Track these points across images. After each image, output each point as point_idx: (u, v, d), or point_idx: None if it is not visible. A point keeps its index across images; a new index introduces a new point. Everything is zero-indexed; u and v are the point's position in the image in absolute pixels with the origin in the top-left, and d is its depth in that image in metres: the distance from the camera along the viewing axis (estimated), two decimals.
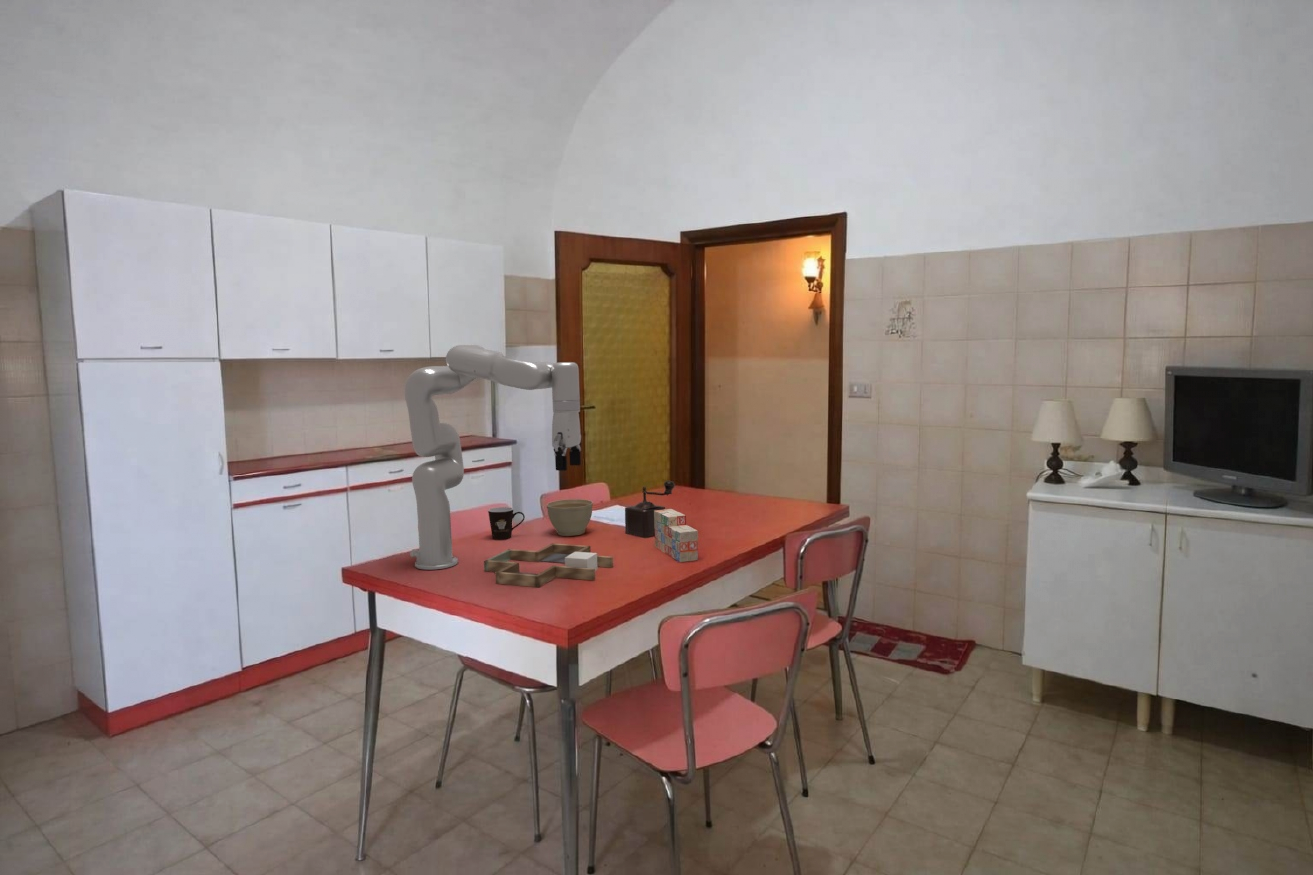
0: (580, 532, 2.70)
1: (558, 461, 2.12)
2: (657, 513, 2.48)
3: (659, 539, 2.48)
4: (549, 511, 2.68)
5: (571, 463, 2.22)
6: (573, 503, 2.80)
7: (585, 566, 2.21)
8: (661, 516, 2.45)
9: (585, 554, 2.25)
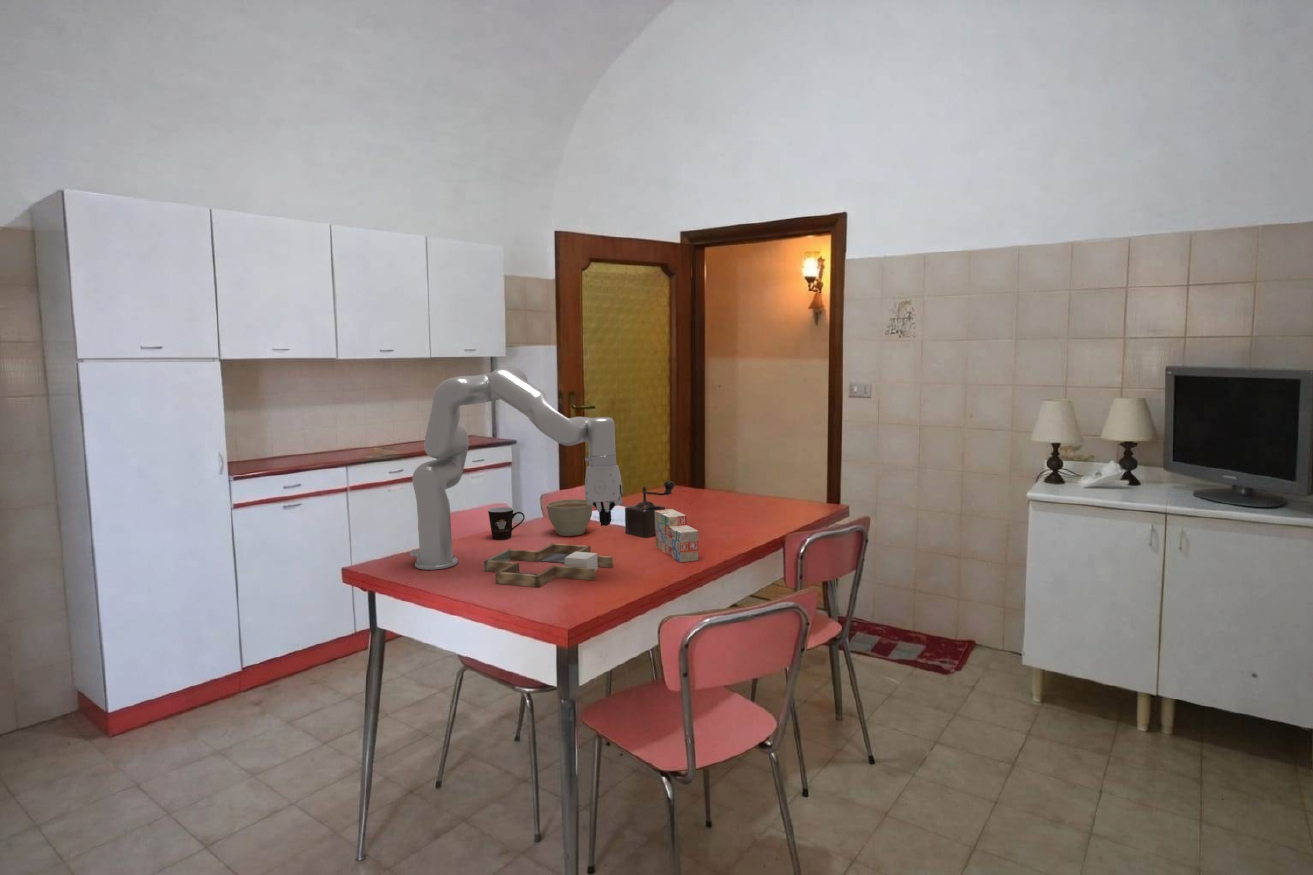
0: (580, 532, 2.70)
1: (609, 516, 2.20)
2: (658, 513, 2.48)
3: (660, 539, 2.48)
4: (549, 511, 2.68)
5: None
6: (573, 503, 2.80)
7: (584, 566, 2.20)
8: (662, 516, 2.45)
9: (585, 554, 2.25)
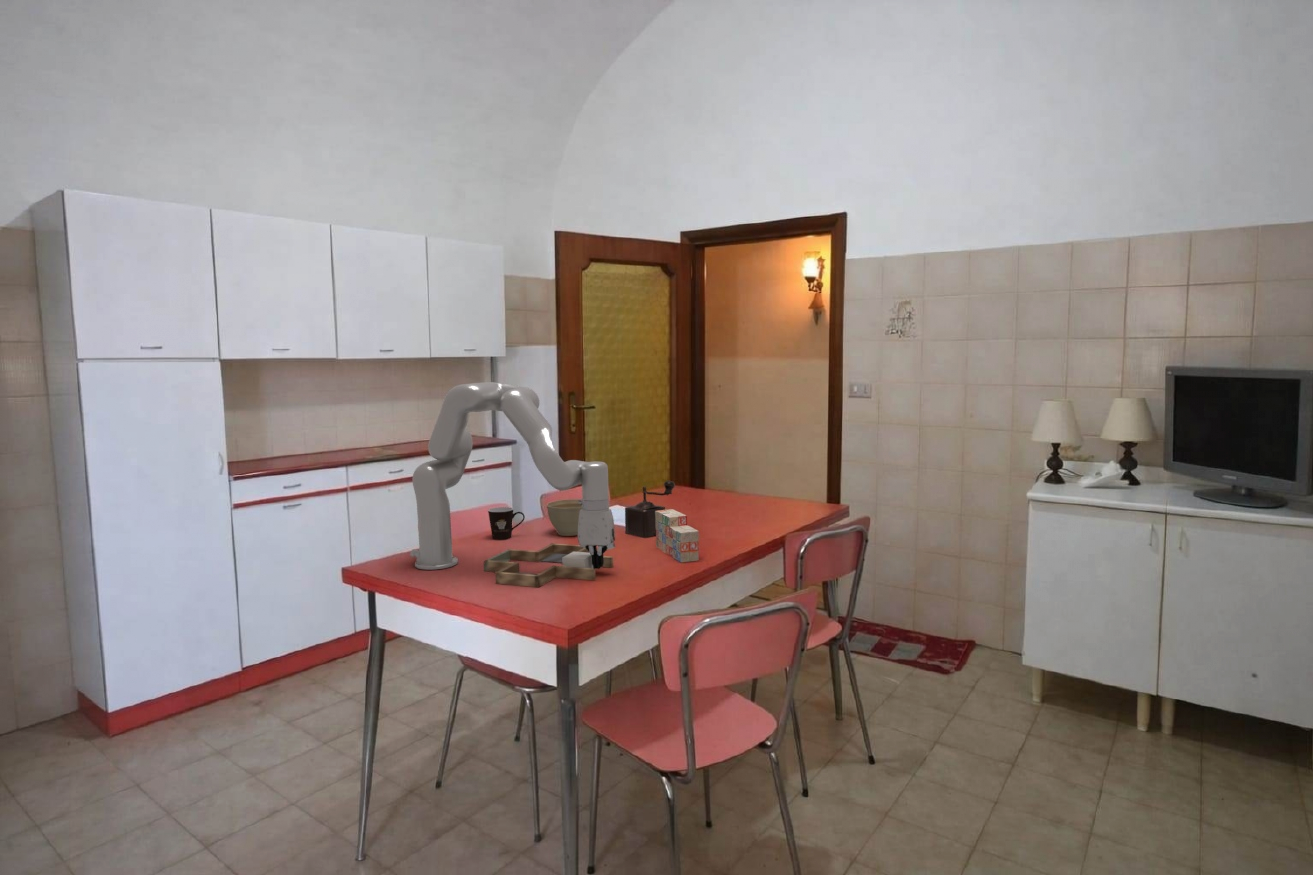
0: None
1: (601, 559, 2.22)
2: (658, 513, 2.48)
3: (660, 539, 2.47)
4: (549, 511, 2.68)
5: None
6: (573, 503, 2.80)
7: (582, 566, 2.21)
8: (662, 516, 2.45)
9: (583, 554, 2.25)
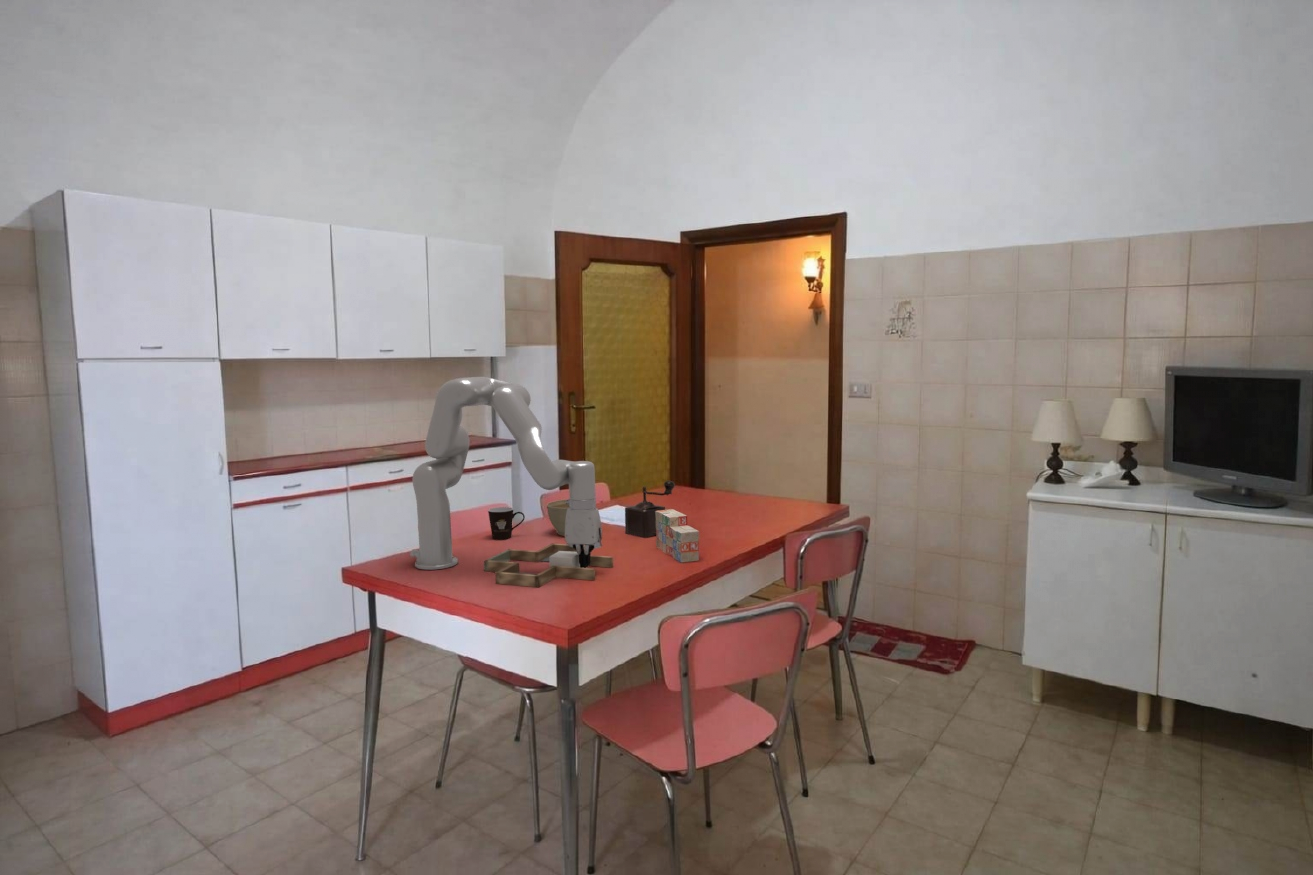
0: None
1: (588, 558, 2.23)
2: (658, 513, 2.48)
3: (660, 539, 2.47)
4: (549, 511, 2.68)
5: None
6: None
7: (569, 565, 2.22)
8: (662, 516, 2.45)
9: (569, 553, 2.27)
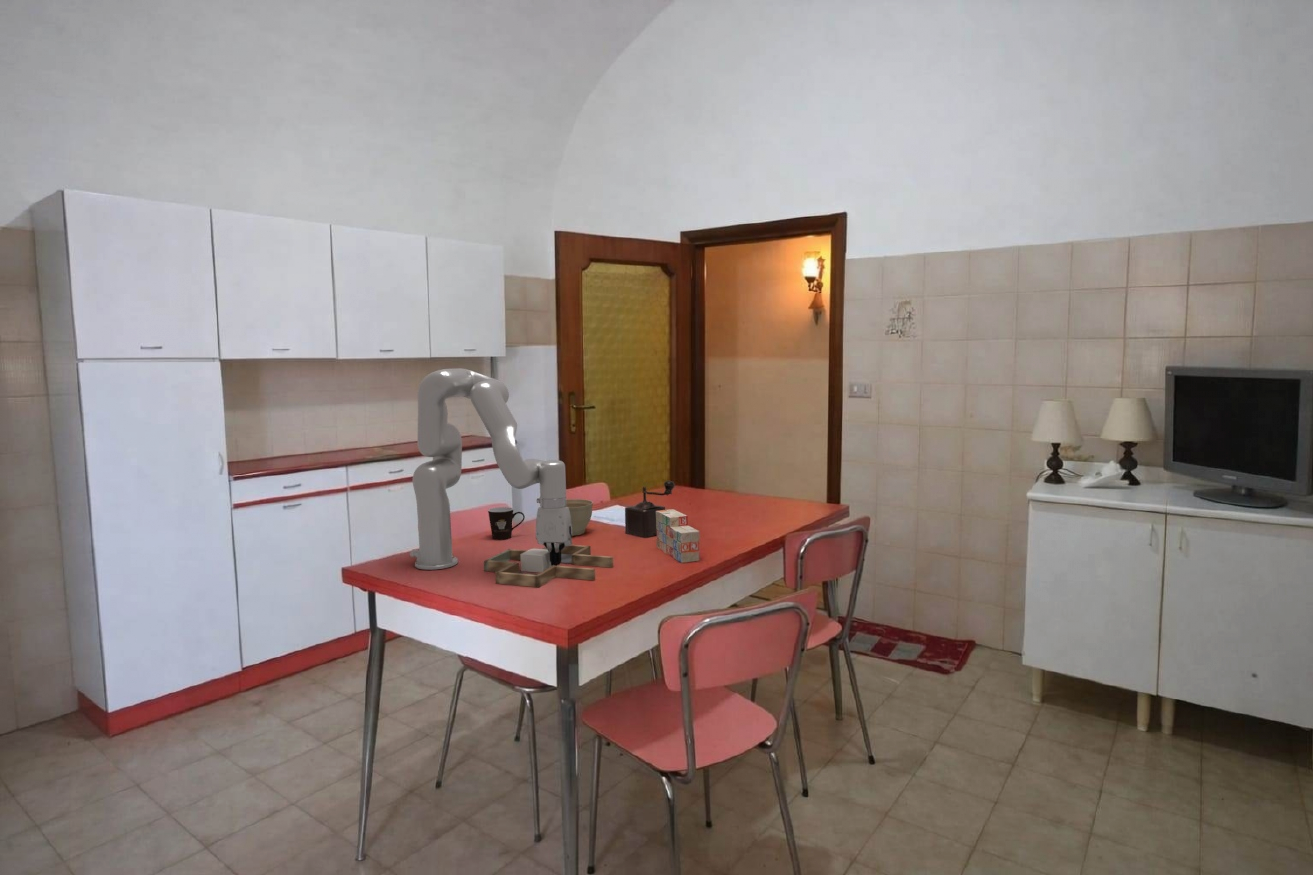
0: (580, 532, 2.70)
1: (559, 556, 2.27)
2: (659, 513, 2.48)
3: (661, 539, 2.47)
4: None
5: None
6: (573, 503, 2.80)
7: (540, 562, 2.25)
8: (663, 516, 2.45)
9: (541, 551, 2.30)
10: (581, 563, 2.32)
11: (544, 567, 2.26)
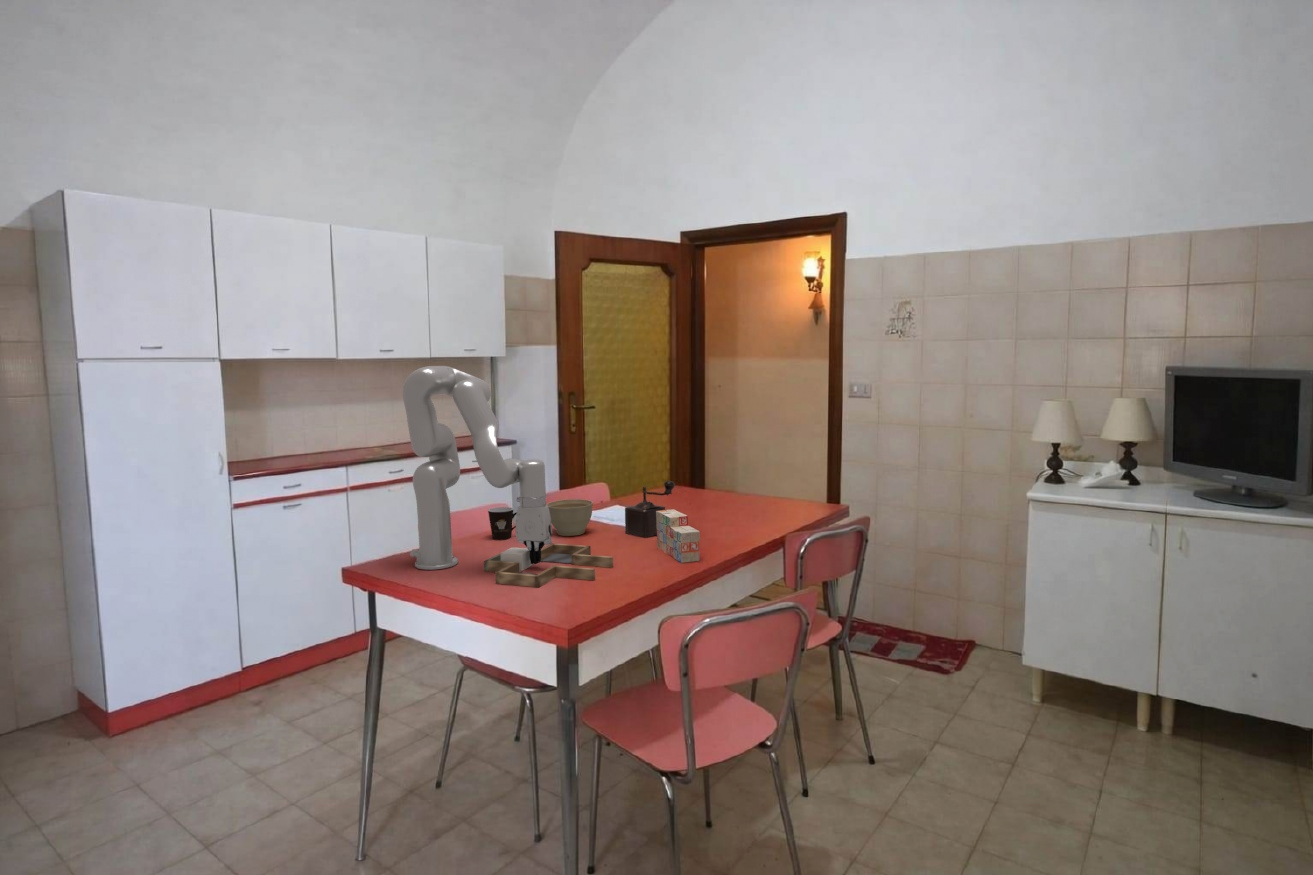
0: (580, 532, 2.70)
1: (539, 554, 2.29)
2: (659, 513, 2.48)
3: (661, 540, 2.47)
4: (549, 511, 2.68)
5: None
6: (573, 503, 2.80)
7: (520, 561, 2.27)
8: (663, 516, 2.44)
9: (521, 549, 2.32)
10: (581, 563, 2.32)
11: (523, 565, 2.28)
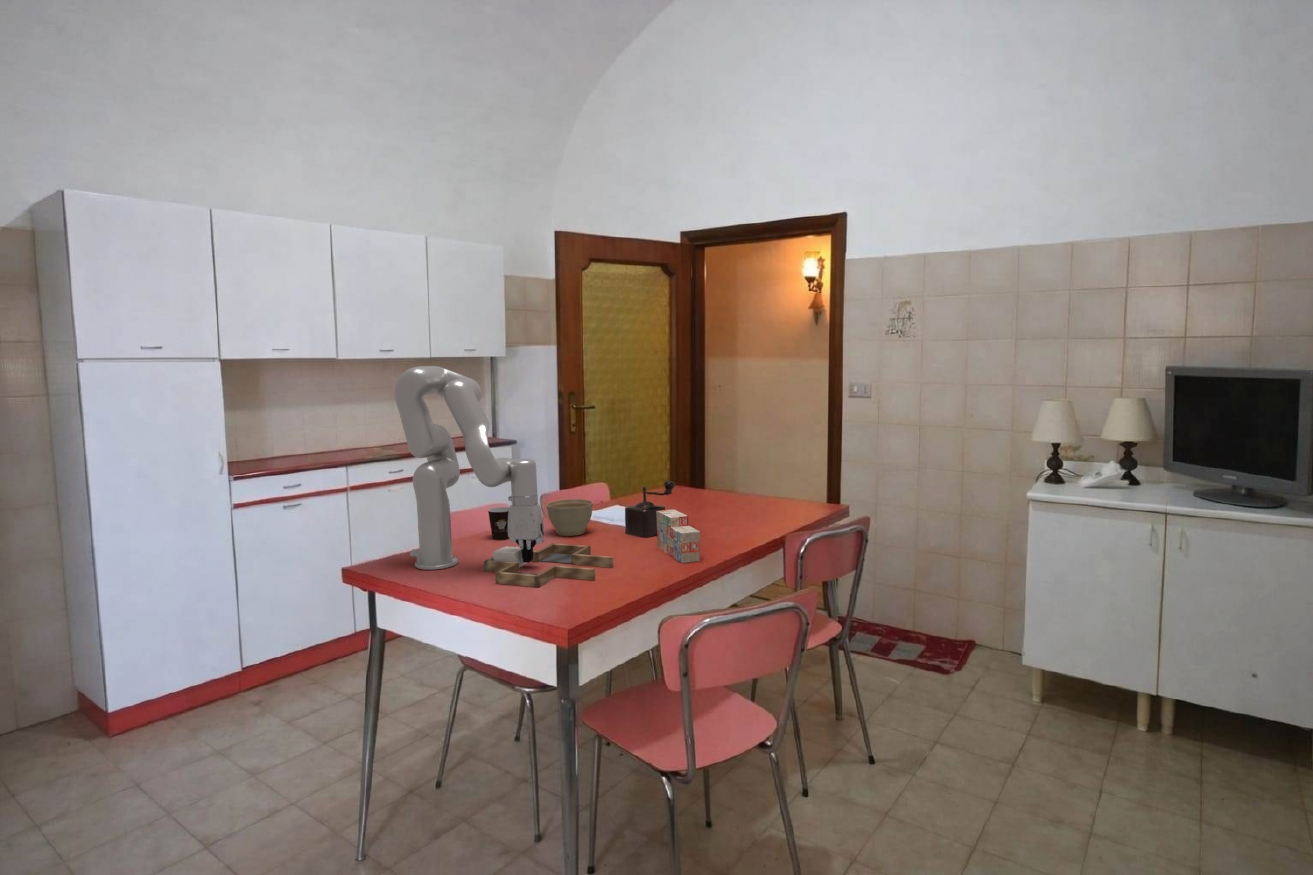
0: (580, 532, 2.70)
1: (531, 553, 2.30)
2: (659, 513, 2.47)
3: (661, 540, 2.47)
4: (549, 511, 2.68)
5: None
6: (573, 503, 2.80)
7: (512, 560, 2.28)
8: (663, 517, 2.44)
9: (514, 548, 2.33)
10: (581, 563, 2.32)
11: None
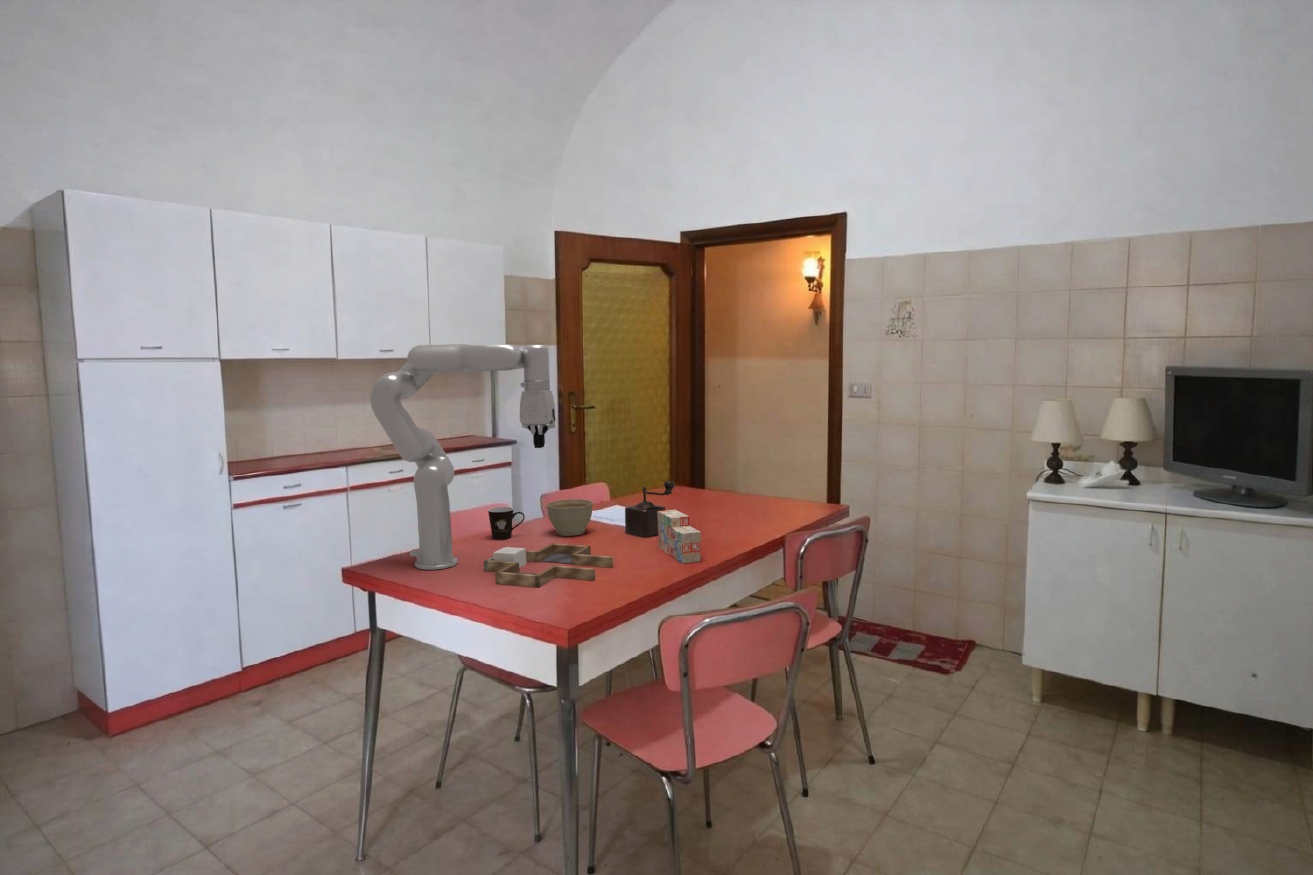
0: (580, 532, 2.70)
1: (542, 439, 2.32)
2: (660, 514, 2.47)
3: (662, 540, 2.47)
4: (549, 511, 2.68)
5: None
6: (573, 503, 2.80)
7: (512, 561, 2.28)
8: (664, 517, 2.44)
9: (514, 549, 2.33)
10: (581, 563, 2.32)
11: None
